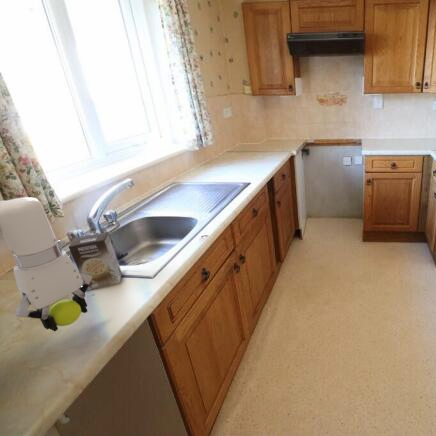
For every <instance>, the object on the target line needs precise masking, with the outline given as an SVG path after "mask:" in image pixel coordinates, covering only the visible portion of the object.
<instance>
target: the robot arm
mask: <svg viewBox="0 0 436 436" xmlns="http://www.w3.org/2000/svg"><path fill="white" fill-rule="evenodd" d="M0 234H2V236H3V239H4V241H5V243H6V244H7V247H8V249H9V251H10V253H11V256H12V257H13V258H14V261H15V263H16V266H14V267H13V274H14V275H13V276H14V280H15V283H16V286H17V288H18V292H19V294H20V297H21V298H22V299H21V300H20V302H19V304H18V306H17V308H16V309H15V311H14V315H15V316H16V317H19V318H30V319H38V320H39V319H40V321H41V324H42V326H43V327H44V329H45V330H51V331H53V332H56V331H58V330H59V327H58V325H56V323H55V321H54V319H53V317H52V316H50V315H49V310H50V305H51V304H55V303H57V302H59V301H61V299H62V300H63V299H64V298H65V297H67V296H69V295H71V294H72V295H73V296H72V297H71V300H73V301H76V302H77V303H78V304H79V305H80V307H81V313H84V314H87V313H88V312H89V311H88V309H87V308H88V304H87V301H86V299H85V297H86V292H87V291H88V290H87V288H88V285H89V283H90V282H91V280H92V276H90V275H87V274H83V273H79V271H78V268H77V266H76V264H75V262H74V261H73V259H72V260H71V259H70V257H69V256H68V255H67V254H68V253H67V252H66V251H65V250H63V248H62V247H64V246H66V245H67V242H66V241H65V239H60V240H59V239H57V237H56V235H55V232H54V230H53V227H52V225H51V223H50V221H49V218H48V216H47V213H46V210H45V208H44V206H43V204H42V202H41V201H40V200H39V199H37V198H36V197H18V198H11V199H8V200H0ZM72 261H73V262H72ZM30 305H31V306H32V307H33V308H34V310H28V309H29V307H30Z"/></svg>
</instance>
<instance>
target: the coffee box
mask: <svg viewBox="0 0 436 436" xmlns="http://www.w3.org/2000/svg"><path fill="white" fill-rule="evenodd" d="M68 249H69V252H70V255H71V257H72V260H73V262H74V264H75V267H76V268H77V270H78V272H79V273H83V274H87V275H90V276H92V280H91V282H90V283H89V285H88V288H87V290H86V291H90V290H95V289H99V288H104V287H108V286H113V285H116V284H117V285H118V284H120V282H121V279H122V275H123V272H122V269H121V266H120V263H119V261H118V258H117V255H116V252H115V249H114V246H113V244H112V240H111V238H110V235H109V232H108V231H106V232H99V233H93V234H88V235H81V236H74V237H73V238H72V239H71V241H70V243H69V245H68Z"/></svg>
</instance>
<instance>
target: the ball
mask: <svg viewBox="0 0 436 436" xmlns="http://www.w3.org/2000/svg"><path fill="white" fill-rule="evenodd" d="M81 314H82V312H81V307H80V305H79V304H78V303H77V302H76V301H73V299H62V300H61V299H60V300H58V301H56V302H54V303H53V305H52V306H51V307H49V315H50V316H52V317H53V319H54V321H55V323H56V325H57V327H58V326H59V327H66V326H70V325H72V324H73V323H75V322H76V321H77V320H78V319H79V318H80V317H81Z"/></svg>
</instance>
